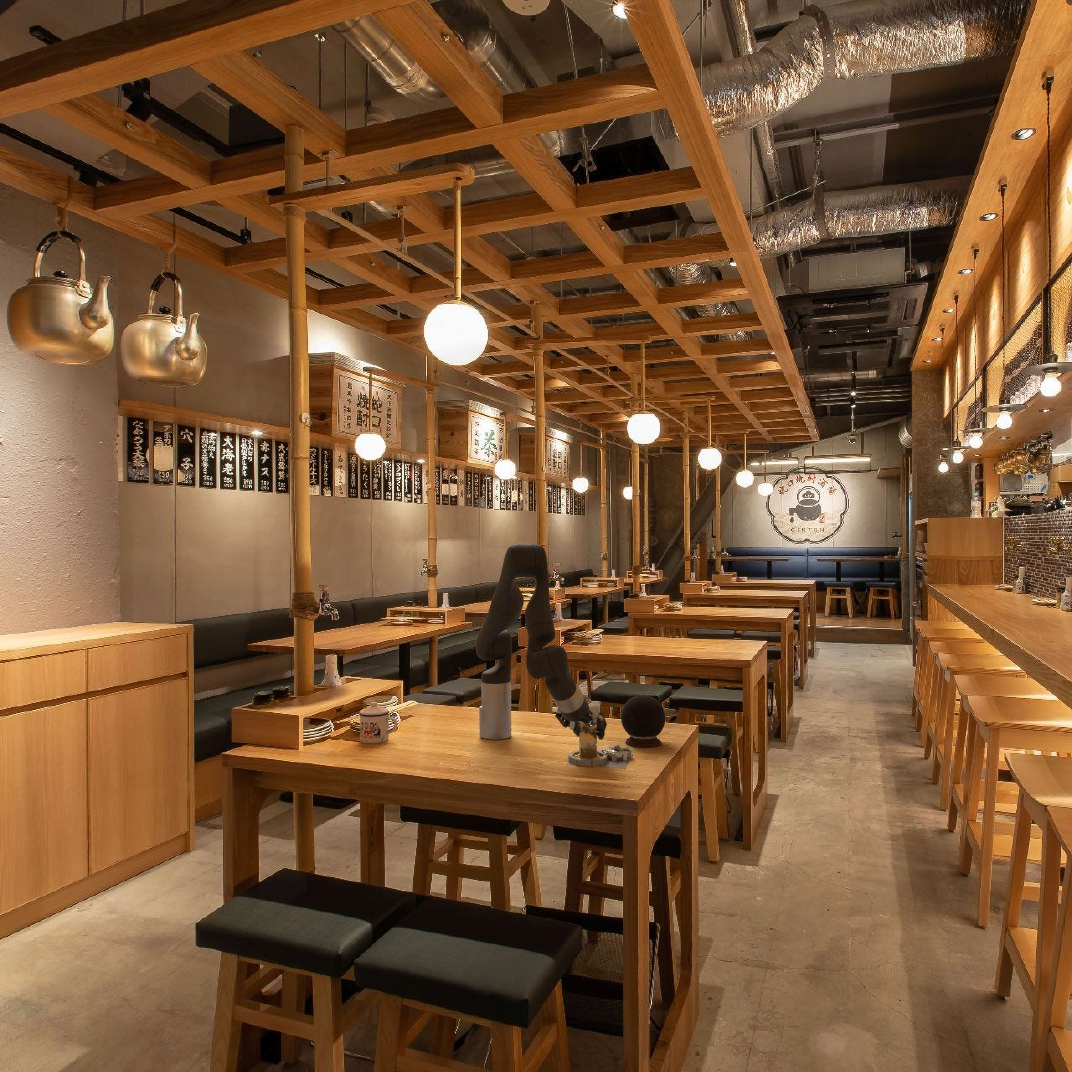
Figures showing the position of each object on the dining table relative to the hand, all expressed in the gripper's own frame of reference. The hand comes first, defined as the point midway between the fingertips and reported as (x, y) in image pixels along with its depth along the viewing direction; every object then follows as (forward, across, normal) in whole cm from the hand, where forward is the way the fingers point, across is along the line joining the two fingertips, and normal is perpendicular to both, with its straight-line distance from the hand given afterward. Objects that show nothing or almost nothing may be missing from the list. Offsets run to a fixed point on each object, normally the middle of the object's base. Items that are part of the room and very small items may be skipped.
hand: (590, 735), depth 211 cm
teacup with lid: (-2, +68, +13) cm, 69 cm away
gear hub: (+3, 0, +6) cm, 7 cm away
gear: (+8, -6, +1) cm, 10 cm away
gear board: (+6, -2, +4) cm, 8 cm away
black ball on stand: (+21, -6, -11) cm, 25 cm away
